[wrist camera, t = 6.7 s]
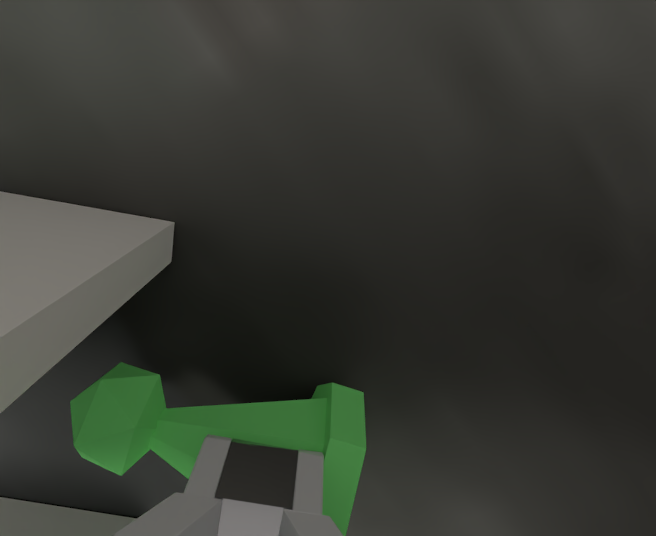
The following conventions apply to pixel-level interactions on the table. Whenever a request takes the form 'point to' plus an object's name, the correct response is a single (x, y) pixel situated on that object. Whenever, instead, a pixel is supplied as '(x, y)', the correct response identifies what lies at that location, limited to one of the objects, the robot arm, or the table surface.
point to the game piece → (220, 429)
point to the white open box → (64, 312)
